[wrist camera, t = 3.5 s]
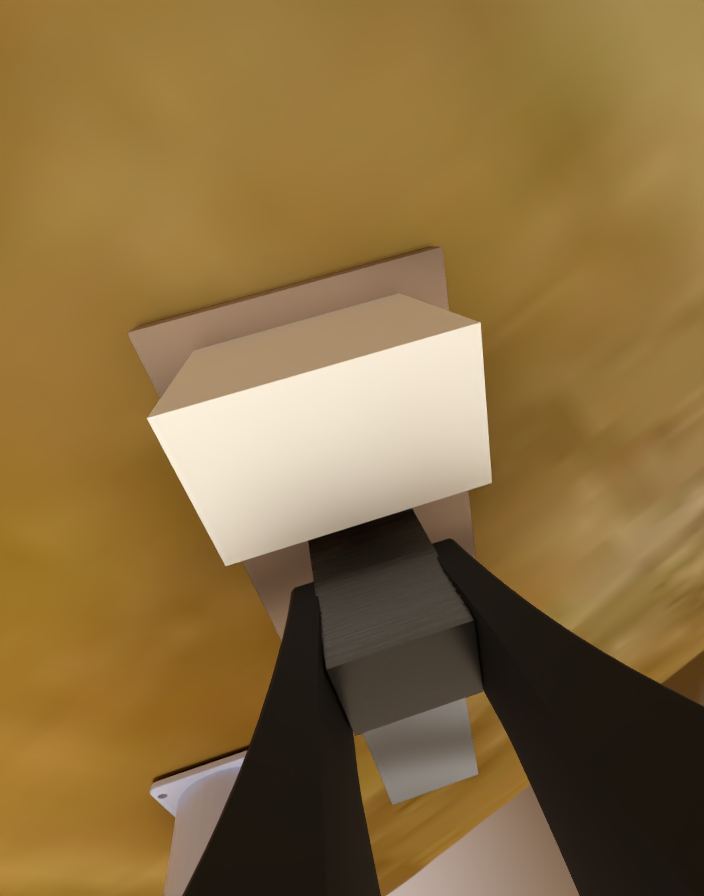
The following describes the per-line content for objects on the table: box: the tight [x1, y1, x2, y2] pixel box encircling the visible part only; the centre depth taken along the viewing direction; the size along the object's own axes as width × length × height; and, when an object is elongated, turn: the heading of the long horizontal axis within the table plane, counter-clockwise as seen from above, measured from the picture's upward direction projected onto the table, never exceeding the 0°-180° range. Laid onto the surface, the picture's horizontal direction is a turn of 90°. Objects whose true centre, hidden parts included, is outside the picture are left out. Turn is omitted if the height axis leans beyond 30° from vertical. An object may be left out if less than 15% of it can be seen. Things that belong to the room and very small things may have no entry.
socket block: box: [147, 293, 492, 566], centre depth 11 cm, size 4×7×6 cm, turn 103°
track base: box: [127, 247, 478, 805], centre depth 17 cm, size 24×10×5 cm, turn 13°
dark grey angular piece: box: [308, 508, 483, 736], centre depth 13 cm, size 14×3×8 cm, turn 13°
